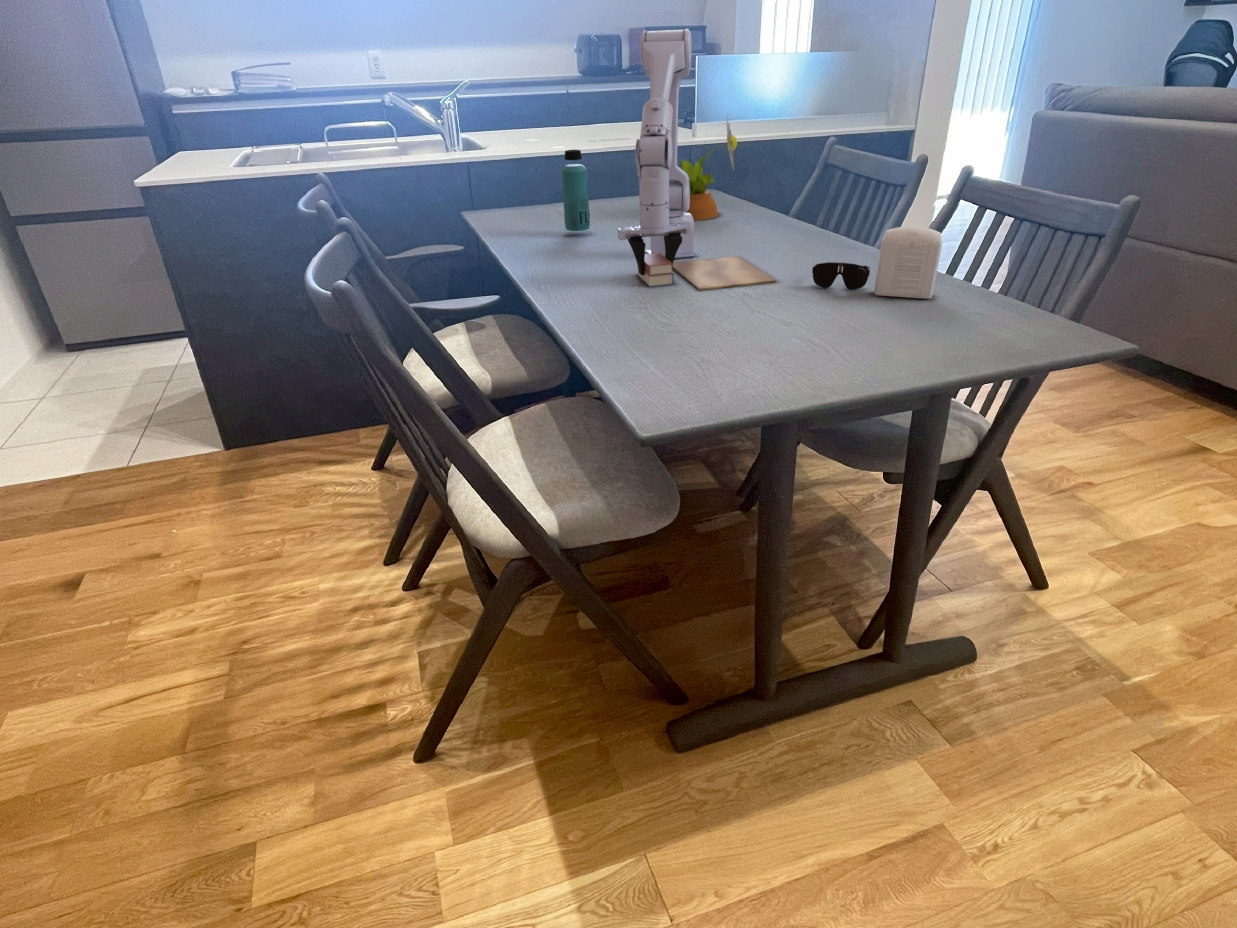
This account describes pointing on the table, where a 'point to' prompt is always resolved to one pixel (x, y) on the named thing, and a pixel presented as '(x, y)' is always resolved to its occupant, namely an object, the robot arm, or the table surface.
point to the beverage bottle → (575, 193)
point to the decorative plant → (704, 183)
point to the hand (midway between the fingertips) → (654, 272)
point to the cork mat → (721, 273)
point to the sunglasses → (851, 274)
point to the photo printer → (908, 262)
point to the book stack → (657, 270)
